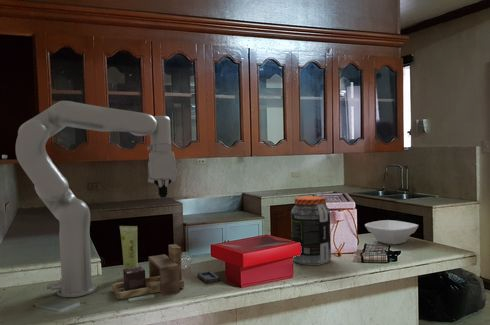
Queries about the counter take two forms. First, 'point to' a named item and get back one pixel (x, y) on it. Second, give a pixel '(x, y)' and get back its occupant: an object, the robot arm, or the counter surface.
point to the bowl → (391, 231)
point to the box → (134, 278)
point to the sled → (151, 278)
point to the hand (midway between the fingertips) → (163, 197)
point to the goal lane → (141, 298)
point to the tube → (129, 246)
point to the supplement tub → (311, 229)
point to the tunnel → (165, 273)
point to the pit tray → (208, 277)
